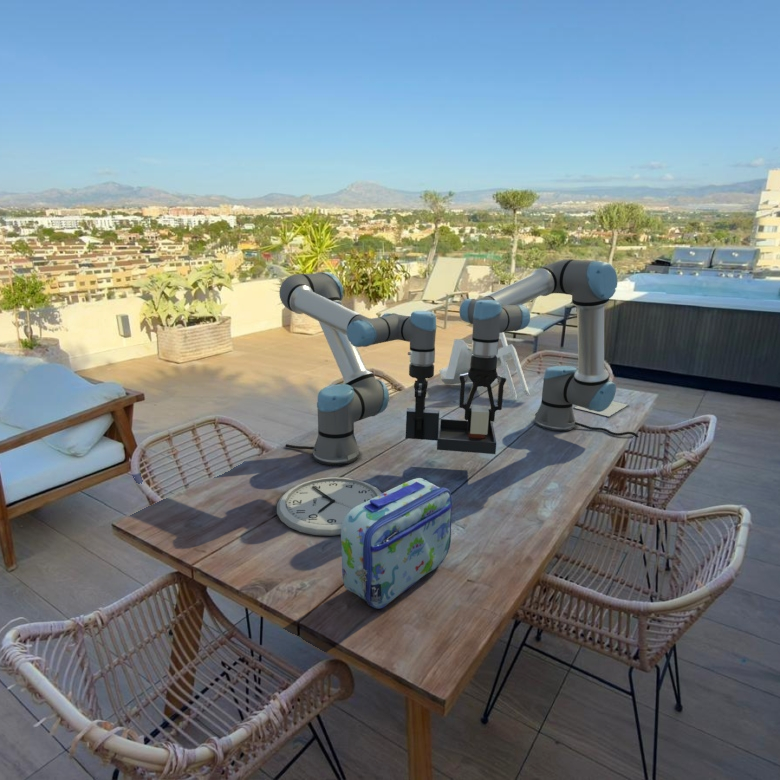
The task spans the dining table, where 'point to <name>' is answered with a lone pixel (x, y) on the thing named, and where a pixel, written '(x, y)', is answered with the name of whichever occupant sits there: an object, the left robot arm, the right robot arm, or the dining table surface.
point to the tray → (450, 433)
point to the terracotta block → (476, 435)
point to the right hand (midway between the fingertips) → (478, 430)
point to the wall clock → (323, 504)
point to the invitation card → (607, 409)
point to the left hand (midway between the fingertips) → (419, 435)
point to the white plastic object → (463, 358)
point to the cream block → (479, 420)
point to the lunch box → (395, 540)
